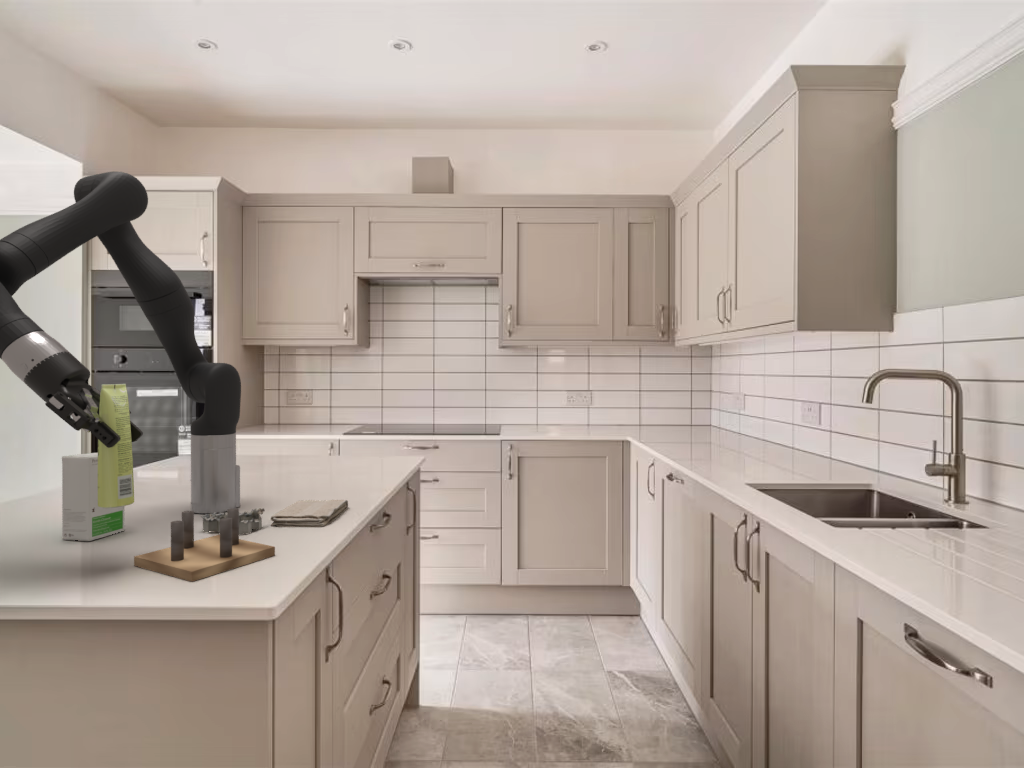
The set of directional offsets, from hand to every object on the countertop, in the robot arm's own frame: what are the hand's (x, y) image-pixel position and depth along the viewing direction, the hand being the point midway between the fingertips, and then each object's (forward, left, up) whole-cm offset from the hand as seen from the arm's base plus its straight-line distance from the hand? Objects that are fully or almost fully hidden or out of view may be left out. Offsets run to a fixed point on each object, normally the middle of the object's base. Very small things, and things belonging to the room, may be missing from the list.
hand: (127, 440), depth 97 cm
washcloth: (-38, 0, -21) cm, 44 cm away
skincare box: (-7, -24, -20) cm, 32 cm away
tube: (+1, -1, -11) cm, 11 cm away
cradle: (-8, +8, -20) cm, 23 cm away
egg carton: (-23, -5, -21) cm, 31 cm away
